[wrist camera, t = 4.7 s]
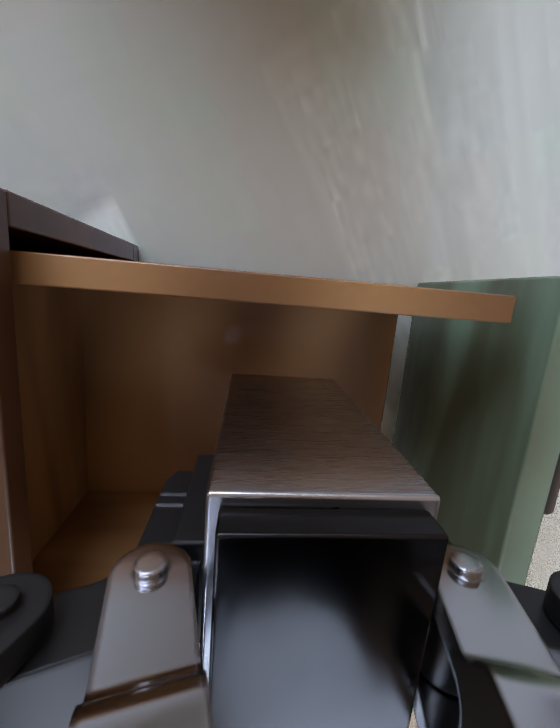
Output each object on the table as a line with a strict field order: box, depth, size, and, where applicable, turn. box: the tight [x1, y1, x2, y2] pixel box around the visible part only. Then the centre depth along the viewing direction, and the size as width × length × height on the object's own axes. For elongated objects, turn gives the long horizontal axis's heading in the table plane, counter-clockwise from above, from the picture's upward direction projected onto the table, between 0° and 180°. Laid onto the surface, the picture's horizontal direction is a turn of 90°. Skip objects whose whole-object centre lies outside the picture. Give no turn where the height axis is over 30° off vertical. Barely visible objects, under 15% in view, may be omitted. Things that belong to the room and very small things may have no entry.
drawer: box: [10, 250, 560, 594], centre depth 15 cm, size 24×13×9 cm, turn 85°
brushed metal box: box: [200, 374, 449, 728], centre depth 9 cm, size 4×5×8 cm
